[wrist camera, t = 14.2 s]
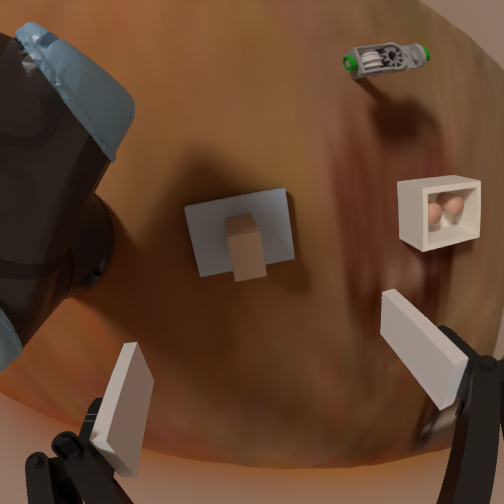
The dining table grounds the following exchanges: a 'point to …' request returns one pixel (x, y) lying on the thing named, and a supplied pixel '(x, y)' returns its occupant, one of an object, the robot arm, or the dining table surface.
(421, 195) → the box
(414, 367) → the robot arm
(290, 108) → the dining table surface
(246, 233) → the lid
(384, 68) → the mechanical component
